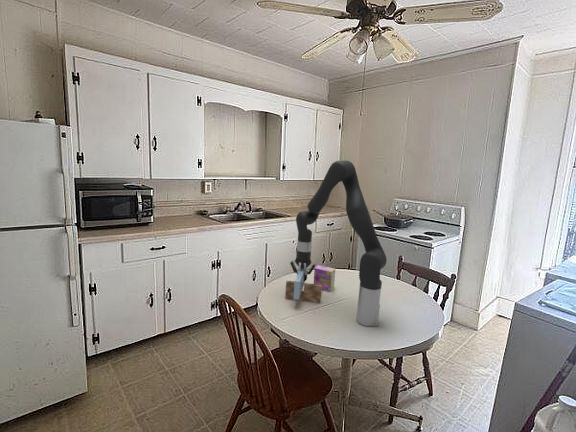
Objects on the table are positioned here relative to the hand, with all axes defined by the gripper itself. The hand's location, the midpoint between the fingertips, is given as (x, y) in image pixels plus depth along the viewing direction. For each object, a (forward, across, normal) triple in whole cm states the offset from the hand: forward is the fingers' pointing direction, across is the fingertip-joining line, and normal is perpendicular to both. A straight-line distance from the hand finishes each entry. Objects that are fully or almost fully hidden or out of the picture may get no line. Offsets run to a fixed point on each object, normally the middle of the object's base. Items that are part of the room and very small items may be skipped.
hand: (301, 280), depth 164 cm
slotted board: (+7, +2, -7) cm, 10 cm away
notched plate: (+3, 0, -7) cm, 7 cm away
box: (+8, +11, +11) cm, 17 cm away
